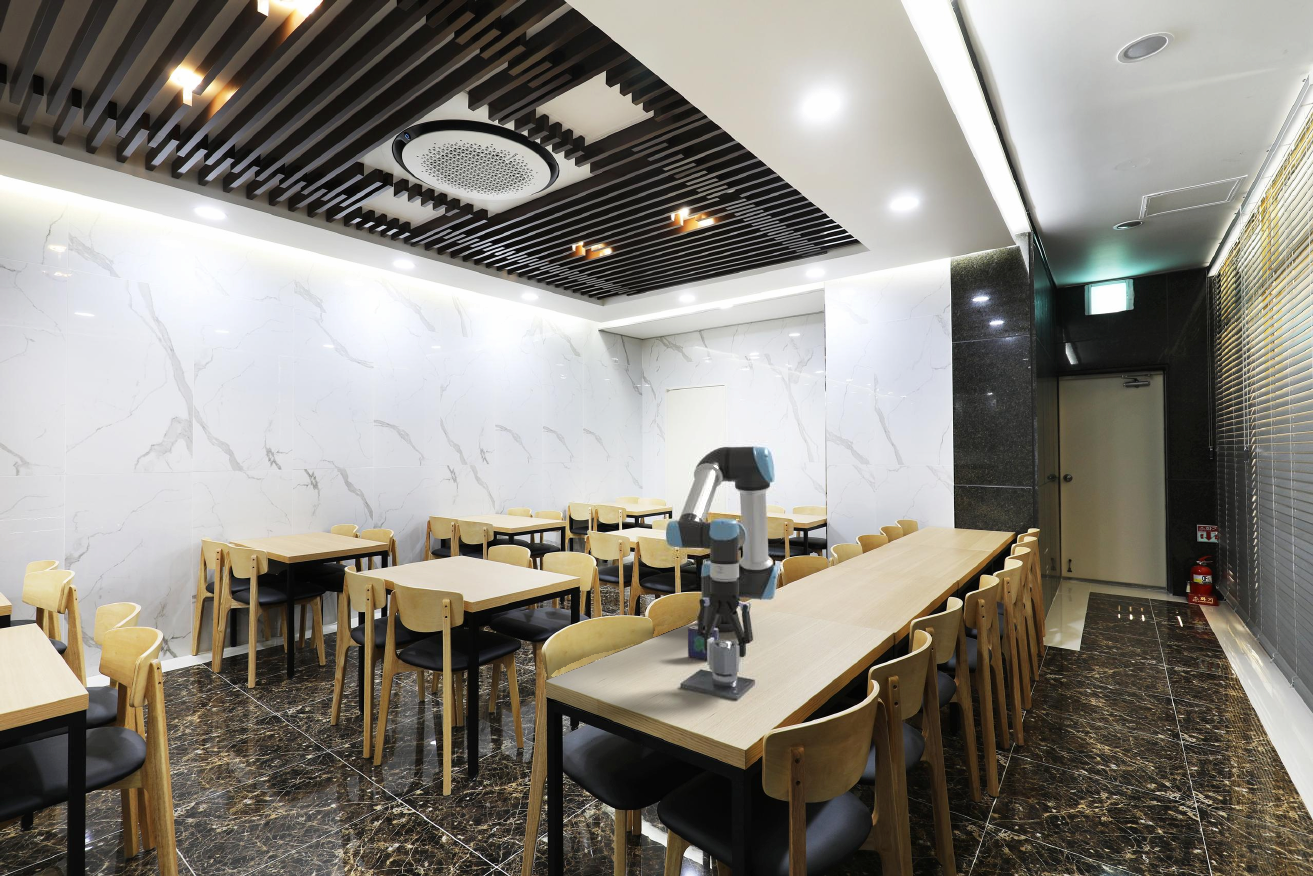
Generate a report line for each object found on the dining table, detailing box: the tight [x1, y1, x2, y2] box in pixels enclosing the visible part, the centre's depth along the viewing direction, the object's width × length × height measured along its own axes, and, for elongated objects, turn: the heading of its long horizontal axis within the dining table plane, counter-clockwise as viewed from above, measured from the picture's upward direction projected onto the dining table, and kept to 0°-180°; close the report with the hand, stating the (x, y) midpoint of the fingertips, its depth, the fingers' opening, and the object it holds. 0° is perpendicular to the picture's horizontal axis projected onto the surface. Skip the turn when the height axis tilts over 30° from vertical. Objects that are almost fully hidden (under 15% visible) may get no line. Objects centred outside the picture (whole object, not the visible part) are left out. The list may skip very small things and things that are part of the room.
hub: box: [708, 639, 739, 675], centre depth 161 cm, size 7×7×6 cm
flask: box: [687, 624, 719, 661], centre depth 184 cm, size 9×3×11 cm, turn 78°
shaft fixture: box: [679, 639, 756, 701], centre depth 162 cm, size 12×16×12 cm
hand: (724, 666), depth 161 cm, fingers closed on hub, 7 cm apart
